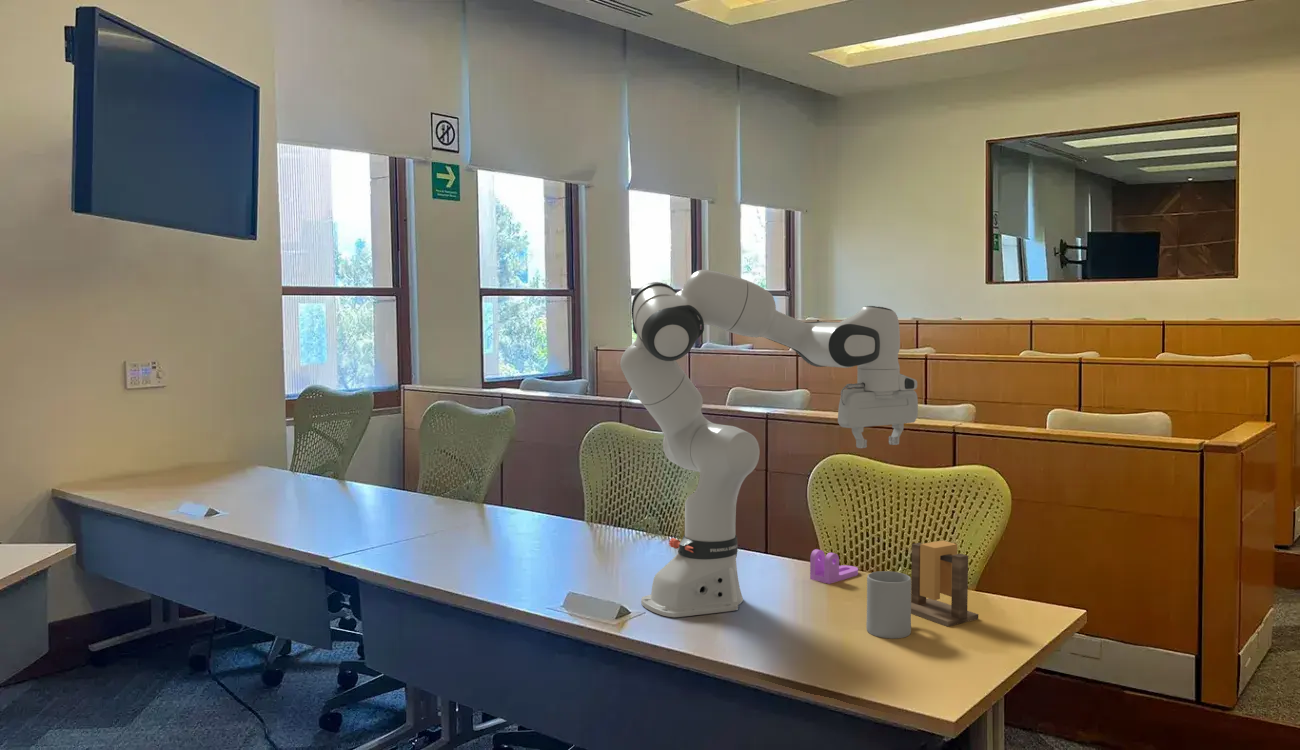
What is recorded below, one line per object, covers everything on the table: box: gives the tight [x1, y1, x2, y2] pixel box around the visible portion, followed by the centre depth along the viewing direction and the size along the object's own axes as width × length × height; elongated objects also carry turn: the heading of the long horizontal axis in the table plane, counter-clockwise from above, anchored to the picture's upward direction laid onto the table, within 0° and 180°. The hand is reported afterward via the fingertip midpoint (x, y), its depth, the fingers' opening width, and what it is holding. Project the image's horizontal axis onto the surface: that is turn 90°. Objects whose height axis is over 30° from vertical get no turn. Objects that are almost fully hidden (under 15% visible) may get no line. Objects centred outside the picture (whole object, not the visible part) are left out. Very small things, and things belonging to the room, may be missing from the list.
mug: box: [865, 570, 912, 639], centre depth 187 cm, size 12×8×11 cm
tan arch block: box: [920, 539, 958, 601], centre depth 196 cm, size 6×4×11 cm, turn 119°
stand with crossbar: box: [910, 542, 979, 627], centre depth 196 cm, size 9×13×14 cm
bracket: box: [809, 548, 859, 585], centre depth 226 cm, size 13×6×7 cm, turn 131°
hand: (877, 446), depth 203 cm, fingers open, 8 cm apart
